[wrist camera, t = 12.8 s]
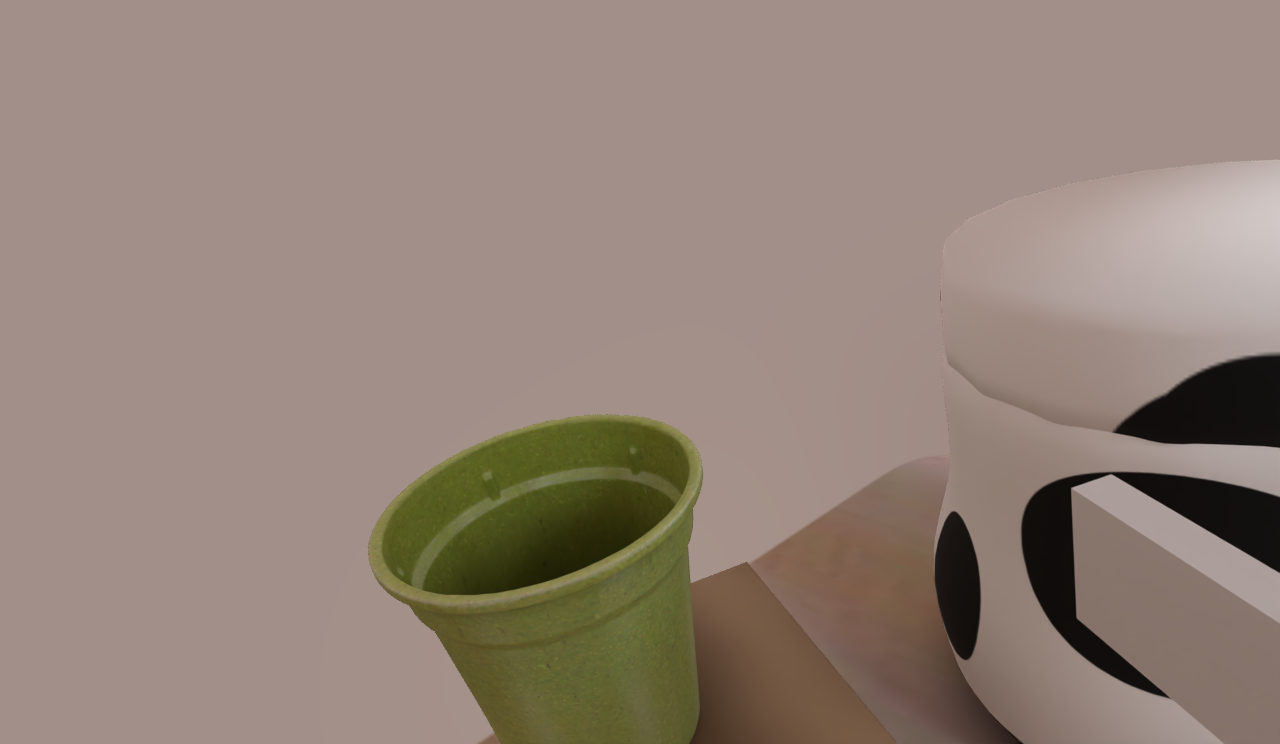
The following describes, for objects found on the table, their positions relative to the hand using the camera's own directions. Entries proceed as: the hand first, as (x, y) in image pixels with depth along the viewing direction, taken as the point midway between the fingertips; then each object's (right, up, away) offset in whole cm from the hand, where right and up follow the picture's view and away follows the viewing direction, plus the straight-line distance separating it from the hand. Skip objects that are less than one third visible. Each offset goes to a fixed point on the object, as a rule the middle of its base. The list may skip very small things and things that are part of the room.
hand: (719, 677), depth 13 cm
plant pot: (-2, -6, +13) cm, 14 cm away
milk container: (+19, -7, +18) cm, 28 cm away
